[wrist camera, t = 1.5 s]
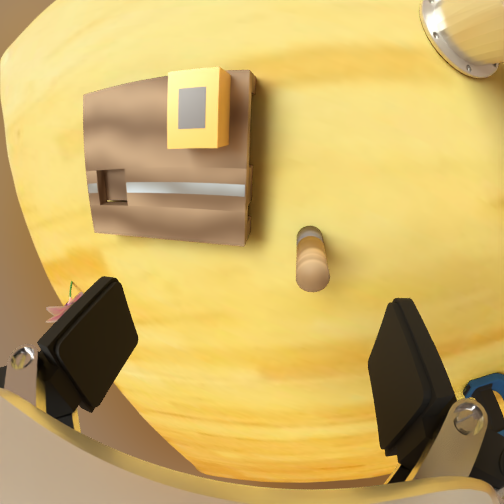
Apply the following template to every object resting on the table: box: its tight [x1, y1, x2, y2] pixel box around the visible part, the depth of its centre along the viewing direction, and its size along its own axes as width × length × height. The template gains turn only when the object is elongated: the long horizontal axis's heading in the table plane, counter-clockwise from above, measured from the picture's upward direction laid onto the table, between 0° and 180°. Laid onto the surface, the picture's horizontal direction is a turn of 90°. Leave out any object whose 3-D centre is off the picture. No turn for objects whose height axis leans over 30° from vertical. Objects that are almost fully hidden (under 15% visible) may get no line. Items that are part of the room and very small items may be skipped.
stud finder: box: [167, 67, 231, 149], centre depth 21 cm, size 7×4×4 cm, turn 178°
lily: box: [46, 281, 83, 322], centre depth 40 cm, size 12×12×10 cm
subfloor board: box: [83, 70, 256, 246], centre depth 28 cm, size 18×20×4 cm
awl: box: [296, 226, 330, 292], centre depth 28 cm, size 3×3×9 cm
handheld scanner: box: [463, 373, 504, 436], centre depth 30 cm, size 5×16×20 cm, turn 97°
